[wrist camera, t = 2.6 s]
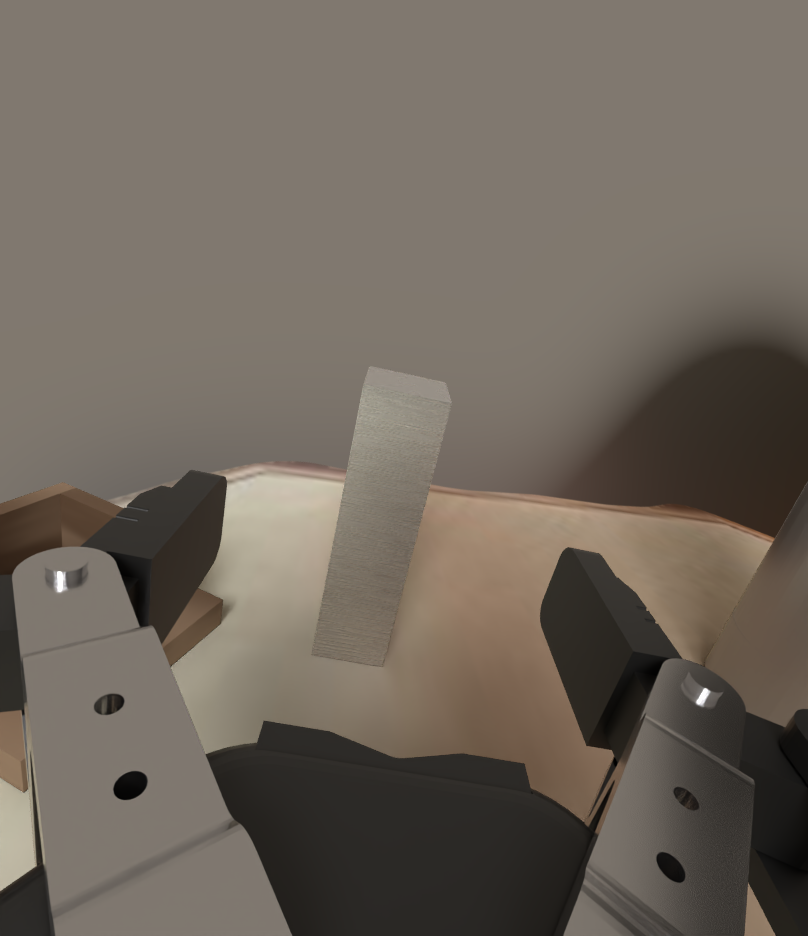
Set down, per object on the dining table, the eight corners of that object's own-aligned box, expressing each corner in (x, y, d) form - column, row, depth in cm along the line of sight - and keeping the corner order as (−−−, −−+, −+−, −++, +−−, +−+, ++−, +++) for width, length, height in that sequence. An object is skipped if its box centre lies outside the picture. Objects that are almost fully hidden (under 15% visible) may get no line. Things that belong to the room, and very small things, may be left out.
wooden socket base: (71, 552, 28) (68, 463, 26) (220, 623, 26) (229, 531, 24) (-170, 668, 20) (-204, 547, 17) (23, 792, 17) (11, 668, 15)
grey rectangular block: (322, 608, 29) (369, 365, 24) (385, 619, 29) (445, 382, 24) (311, 654, 25) (363, 384, 20) (382, 666, 26) (451, 403, 20)
